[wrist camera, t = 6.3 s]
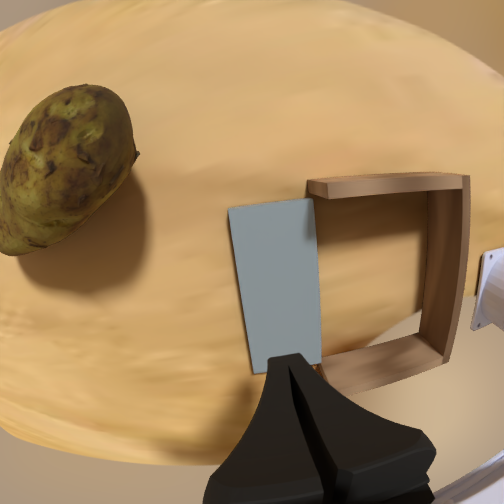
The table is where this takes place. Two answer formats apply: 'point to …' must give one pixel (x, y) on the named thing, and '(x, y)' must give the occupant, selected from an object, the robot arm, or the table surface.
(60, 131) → the potato
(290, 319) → the flat gray panel
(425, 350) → the crate
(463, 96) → the table surface
